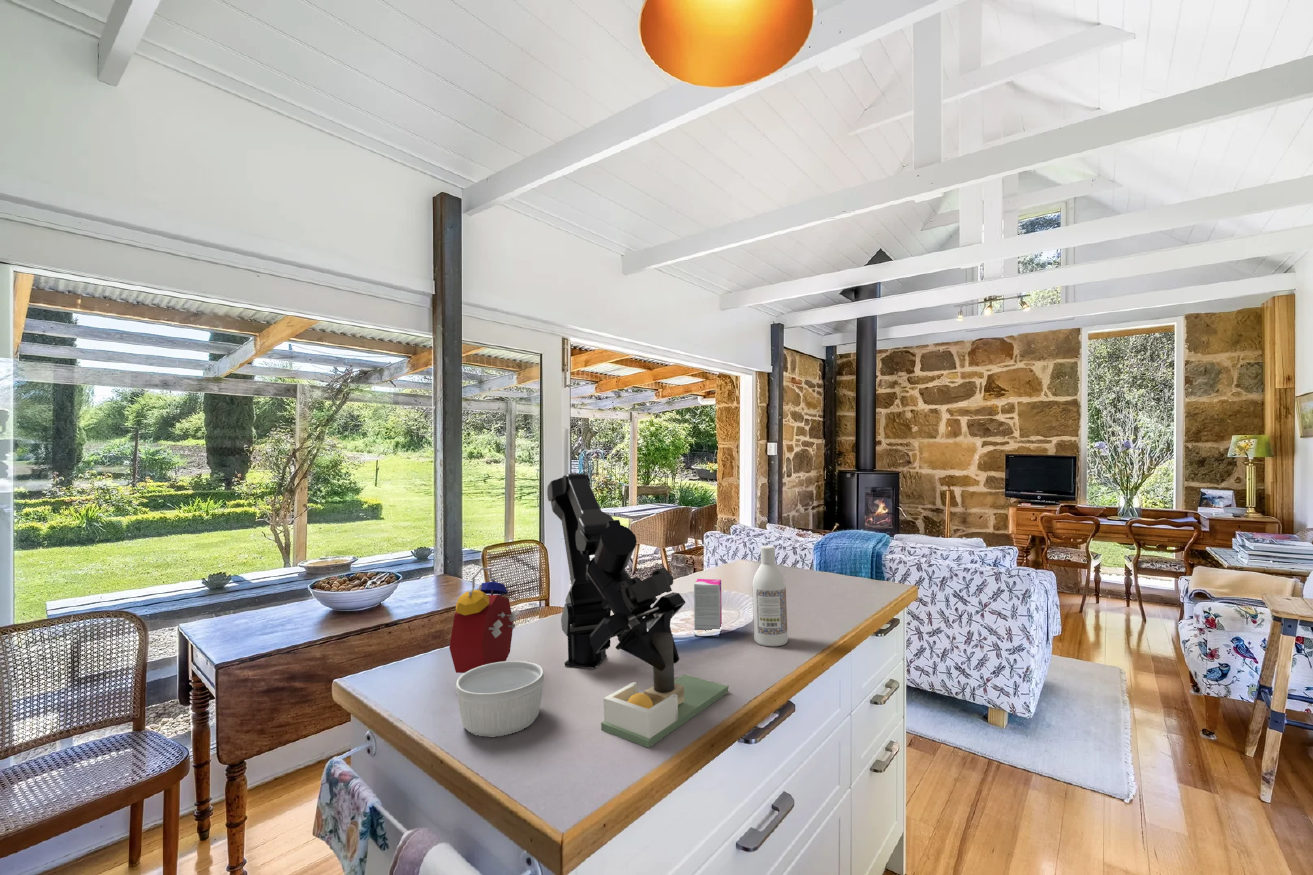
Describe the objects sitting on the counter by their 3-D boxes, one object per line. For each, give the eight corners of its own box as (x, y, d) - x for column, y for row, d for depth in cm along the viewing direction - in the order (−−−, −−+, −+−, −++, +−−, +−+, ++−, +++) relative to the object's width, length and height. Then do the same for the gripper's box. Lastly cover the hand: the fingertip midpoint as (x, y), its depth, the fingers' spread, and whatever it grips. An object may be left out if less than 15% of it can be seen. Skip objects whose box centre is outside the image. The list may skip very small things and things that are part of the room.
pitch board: (601, 729, 83) (601, 722, 83) (684, 679, 100) (684, 674, 100) (648, 747, 77) (648, 740, 77) (728, 691, 94) (728, 685, 94)
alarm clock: (485, 658, 113) (483, 559, 114) (526, 659, 112) (523, 559, 112) (449, 689, 98) (446, 576, 99) (495, 691, 97) (493, 575, 98)
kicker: (644, 706, 87) (642, 637, 87) (664, 694, 91) (662, 628, 91) (665, 713, 84) (663, 642, 85) (684, 701, 88) (682, 632, 89)
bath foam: (793, 645, 115) (790, 548, 116) (762, 648, 114) (758, 550, 114) (779, 634, 122) (775, 543, 123) (749, 637, 121) (746, 545, 121)
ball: (626, 689, 82) (643, 685, 86) (617, 713, 83) (634, 708, 86) (645, 706, 80) (662, 701, 83) (635, 731, 80) (652, 725, 83)
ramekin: (475, 702, 93) (474, 660, 94) (553, 700, 93) (552, 658, 93) (442, 743, 80) (441, 694, 80) (533, 742, 80) (531, 693, 80)
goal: (603, 721, 83) (603, 697, 83) (634, 703, 89) (633, 681, 89) (650, 738, 78) (649, 713, 78) (679, 718, 83) (678, 695, 83)
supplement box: (720, 637, 121) (719, 584, 122) (693, 636, 123) (692, 584, 123) (723, 629, 127) (721, 578, 127) (697, 628, 128) (695, 578, 129)
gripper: (601, 564, 83) (662, 654, 76) (674, 545, 98) (731, 618, 91) (566, 610, 88) (620, 698, 81) (641, 585, 102) (693, 657, 95)
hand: (670, 665), depth 87 cm, fingers closed on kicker, 3 cm apart
